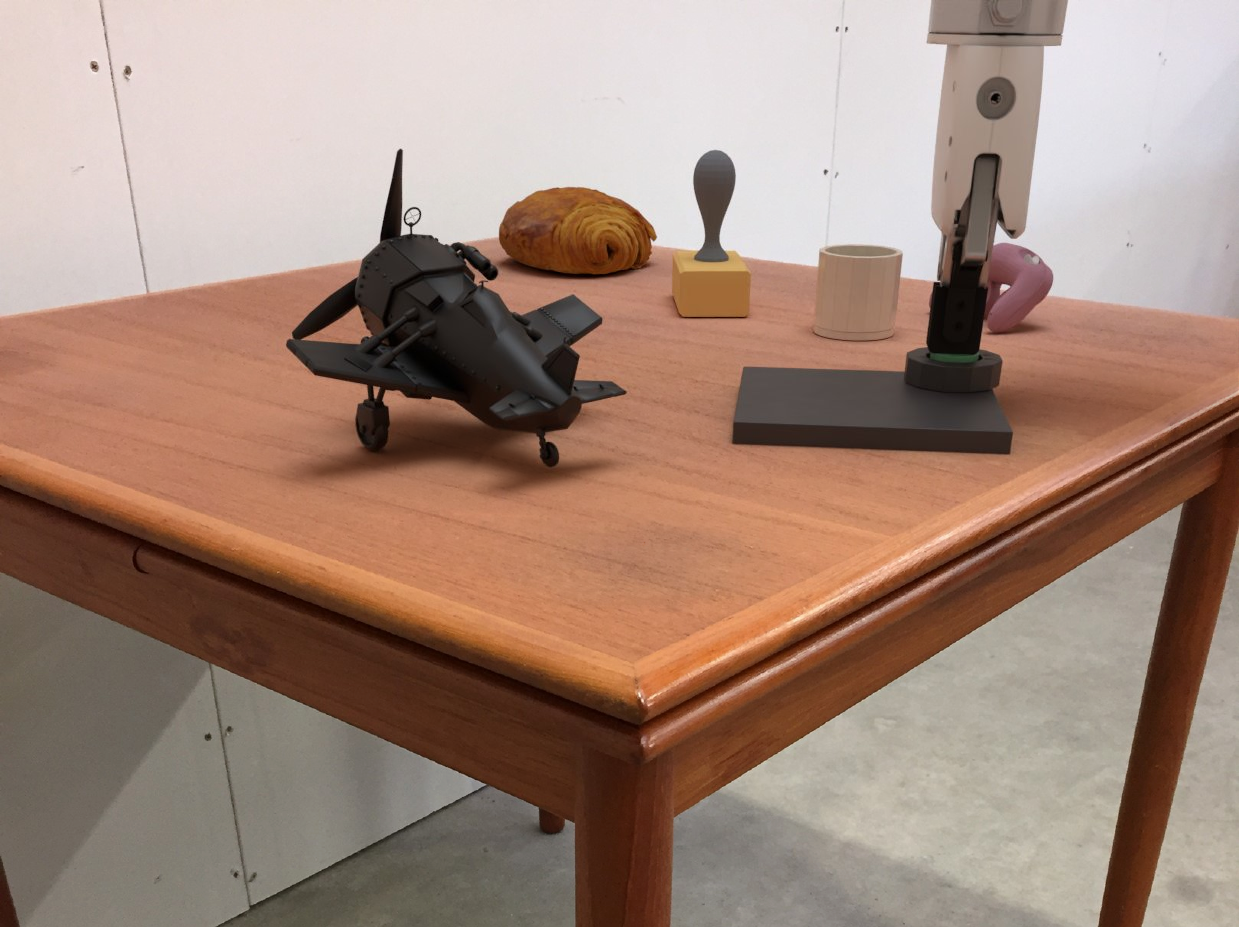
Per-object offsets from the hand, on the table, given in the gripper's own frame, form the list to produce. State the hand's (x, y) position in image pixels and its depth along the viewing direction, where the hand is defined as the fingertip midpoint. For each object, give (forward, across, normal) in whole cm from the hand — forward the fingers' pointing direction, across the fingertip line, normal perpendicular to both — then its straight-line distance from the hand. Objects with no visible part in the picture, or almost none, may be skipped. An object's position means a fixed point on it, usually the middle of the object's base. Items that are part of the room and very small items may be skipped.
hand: (951, 350), depth 85 cm
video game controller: (+4, +28, -6) cm, 28 cm away
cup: (+3, +22, +5) cm, 22 cm away
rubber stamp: (+4, +30, +17) cm, 35 cm away
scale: (+3, -4, +5) cm, 8 cm away
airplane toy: (+4, -14, +28) cm, 32 cm away
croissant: (+4, +50, +31) cm, 59 cm away
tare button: (+2, 0, 0) cm, 2 cm away
